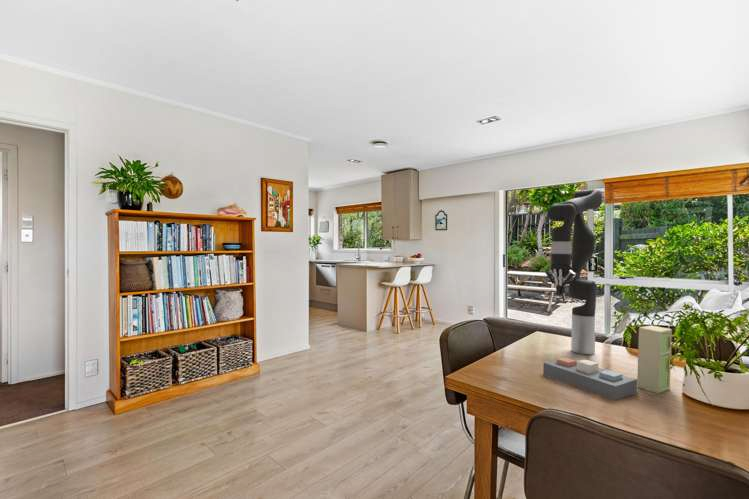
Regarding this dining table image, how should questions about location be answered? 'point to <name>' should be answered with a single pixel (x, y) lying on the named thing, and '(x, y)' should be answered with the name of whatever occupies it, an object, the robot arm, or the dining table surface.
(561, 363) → the terracotta key
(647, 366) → the toy refrigerator
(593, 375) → the console
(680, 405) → the dining table surface
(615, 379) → the blue key
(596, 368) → the ivory key
